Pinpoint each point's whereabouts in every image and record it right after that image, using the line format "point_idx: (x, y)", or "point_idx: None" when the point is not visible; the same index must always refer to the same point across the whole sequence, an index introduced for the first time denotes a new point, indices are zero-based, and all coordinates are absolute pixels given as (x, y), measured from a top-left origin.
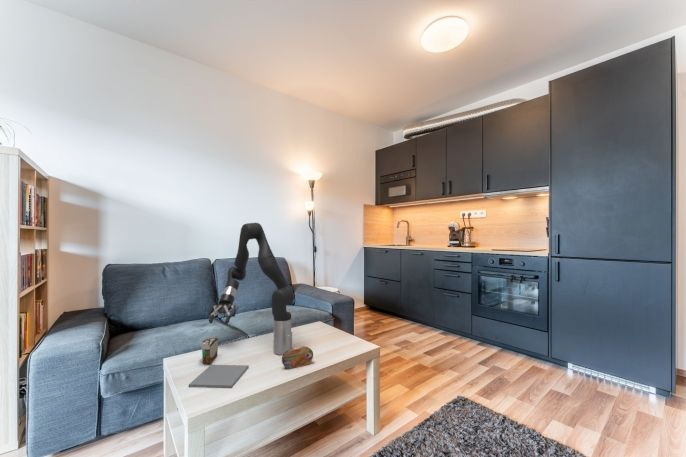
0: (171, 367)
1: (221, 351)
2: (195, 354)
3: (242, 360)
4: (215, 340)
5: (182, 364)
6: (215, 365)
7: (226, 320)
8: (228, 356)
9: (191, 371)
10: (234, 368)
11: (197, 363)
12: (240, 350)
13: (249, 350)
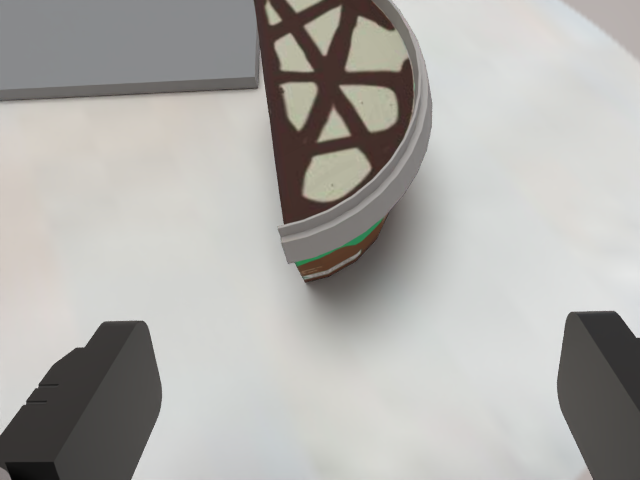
0: (600, 47)
1: (328, 427)
2: None
3: (24, 222)
4: (273, 147)
5: (545, 103)
6: (209, 66)
7: (91, 345)
8: (190, 298)
9: None
10: (33, 37)
11: None
12: None
13: None
